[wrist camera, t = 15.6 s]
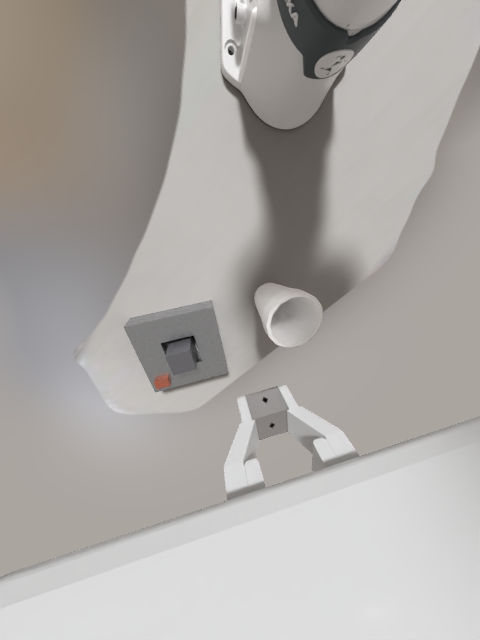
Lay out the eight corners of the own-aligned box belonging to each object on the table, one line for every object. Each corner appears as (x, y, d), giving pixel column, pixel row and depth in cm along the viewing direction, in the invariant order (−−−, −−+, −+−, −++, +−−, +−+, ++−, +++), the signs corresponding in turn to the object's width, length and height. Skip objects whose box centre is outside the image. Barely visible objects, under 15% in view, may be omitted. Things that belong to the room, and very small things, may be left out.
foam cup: (247, 319, 43) (266, 351, 31) (245, 277, 39) (266, 297, 27) (287, 313, 44) (319, 342, 33) (289, 273, 40) (327, 289, 29)
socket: (130, 318, 38) (121, 329, 33) (211, 300, 39) (213, 309, 35) (158, 379, 45) (154, 395, 40) (226, 362, 46) (229, 375, 42)
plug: (170, 336, 41) (165, 356, 34) (190, 331, 41) (189, 350, 35) (177, 353, 43) (173, 375, 36) (196, 347, 43) (196, 369, 37)
